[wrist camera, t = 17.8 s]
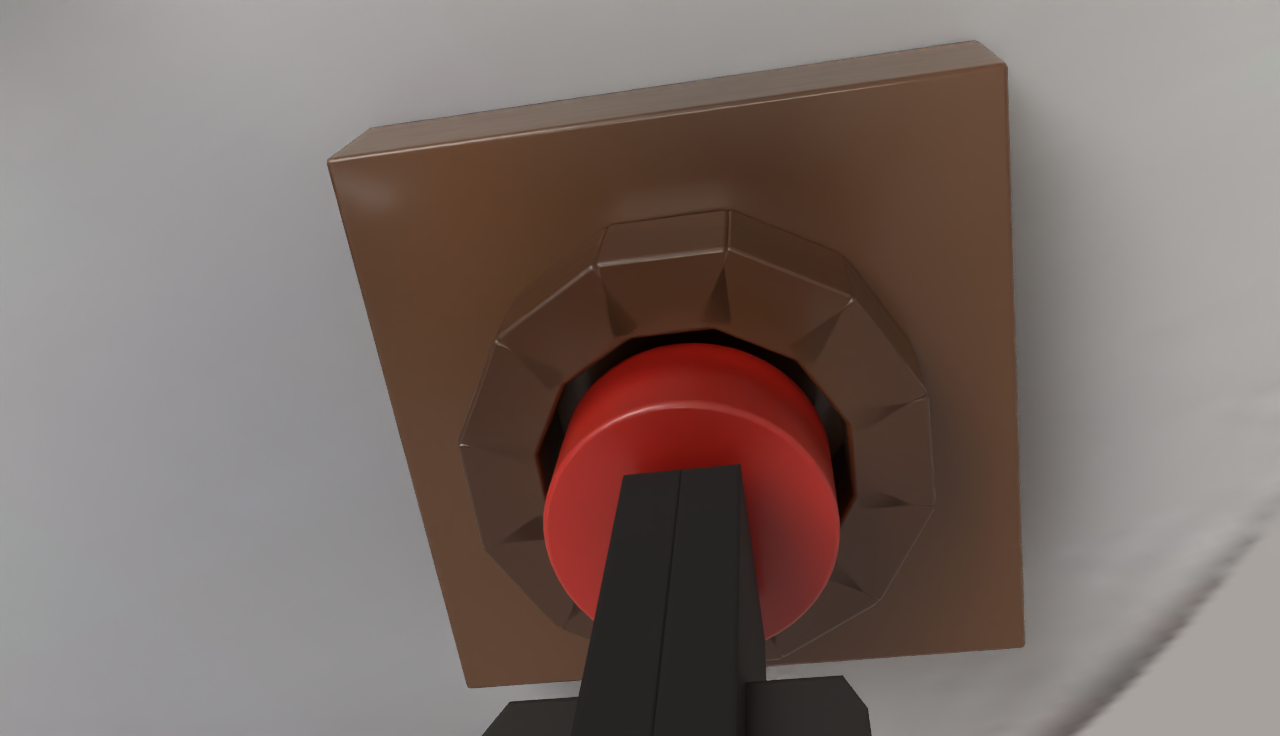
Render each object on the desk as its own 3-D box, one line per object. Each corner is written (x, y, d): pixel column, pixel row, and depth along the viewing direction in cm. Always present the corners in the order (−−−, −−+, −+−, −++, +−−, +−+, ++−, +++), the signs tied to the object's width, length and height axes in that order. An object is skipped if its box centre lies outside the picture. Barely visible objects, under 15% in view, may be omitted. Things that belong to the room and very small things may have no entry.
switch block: (490, 618, 23) (443, 760, 20) (367, 128, 19) (279, 191, 16) (1001, 575, 22) (1051, 721, 18) (979, 39, 18) (1039, 86, 14)
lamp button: (588, 585, 18) (570, 668, 17) (541, 357, 17) (515, 419, 15) (841, 564, 18) (853, 647, 16) (816, 325, 16) (826, 386, 14)
